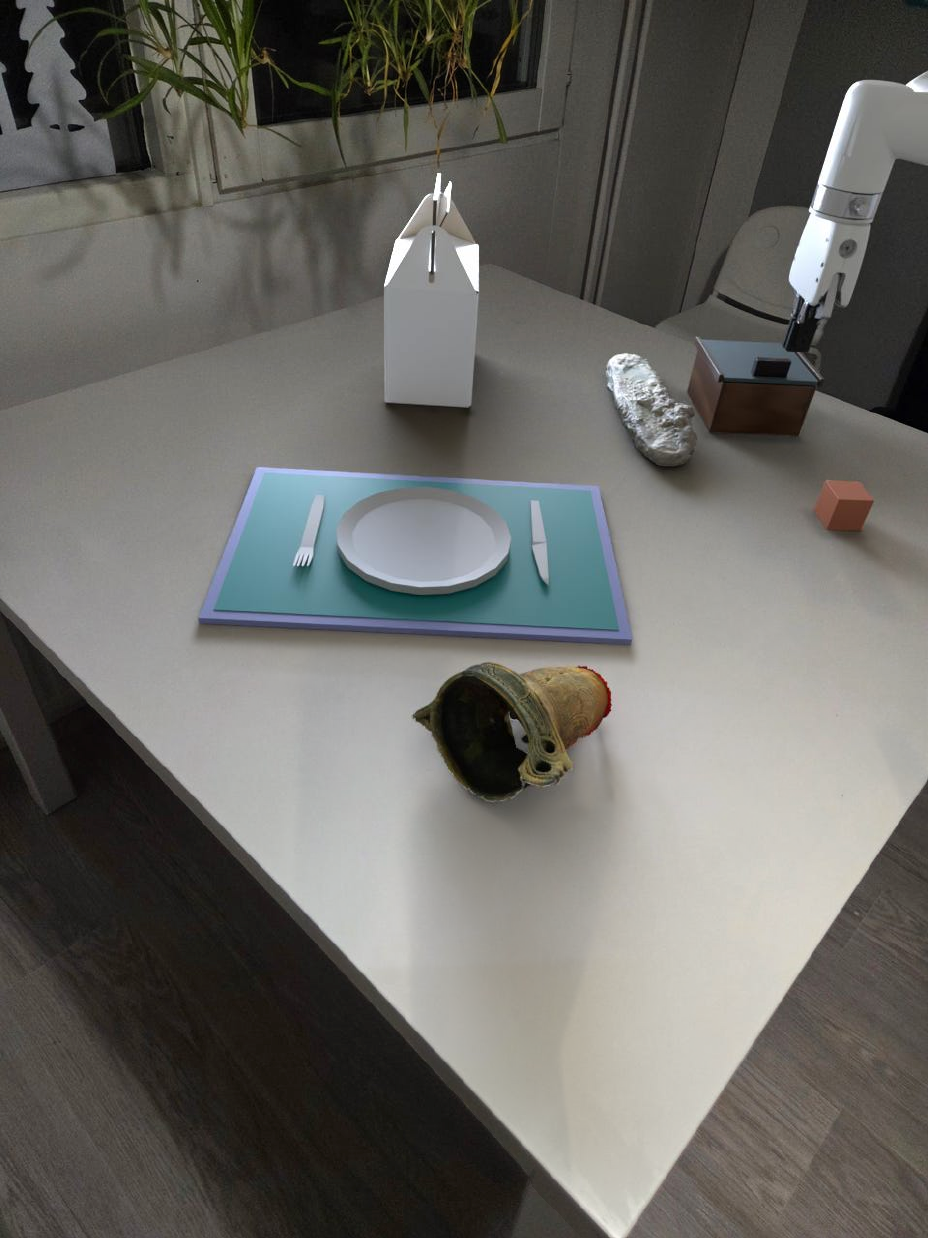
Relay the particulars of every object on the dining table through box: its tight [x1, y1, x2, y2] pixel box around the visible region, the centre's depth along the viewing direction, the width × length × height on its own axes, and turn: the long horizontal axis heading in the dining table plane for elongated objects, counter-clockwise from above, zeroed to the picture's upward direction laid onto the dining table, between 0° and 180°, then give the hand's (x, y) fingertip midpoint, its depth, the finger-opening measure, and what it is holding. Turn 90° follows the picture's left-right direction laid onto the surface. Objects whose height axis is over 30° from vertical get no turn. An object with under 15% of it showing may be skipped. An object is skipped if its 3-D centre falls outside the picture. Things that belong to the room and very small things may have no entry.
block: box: [813, 479, 875, 532], centre depth 106 cm, size 5×5×5 cm
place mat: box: [198, 466, 634, 646], centre depth 96 cm, size 45×30×2 cm
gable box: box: [383, 173, 480, 409], centre depth 125 cm, size 22×13×28 cm, turn 179°
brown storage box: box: [686, 336, 825, 437], centre depth 127 cm, size 16×14×9 cm
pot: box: [410, 661, 613, 803], centre depth 72 cm, size 17×11×18 cm
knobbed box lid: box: [701, 339, 818, 386], centre depth 124 cm, size 14×14×3 cm
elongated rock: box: [605, 352, 698, 467], centre depth 126 cm, size 35×5×10 cm
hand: (794, 349), depth 111 cm, fingers closed
